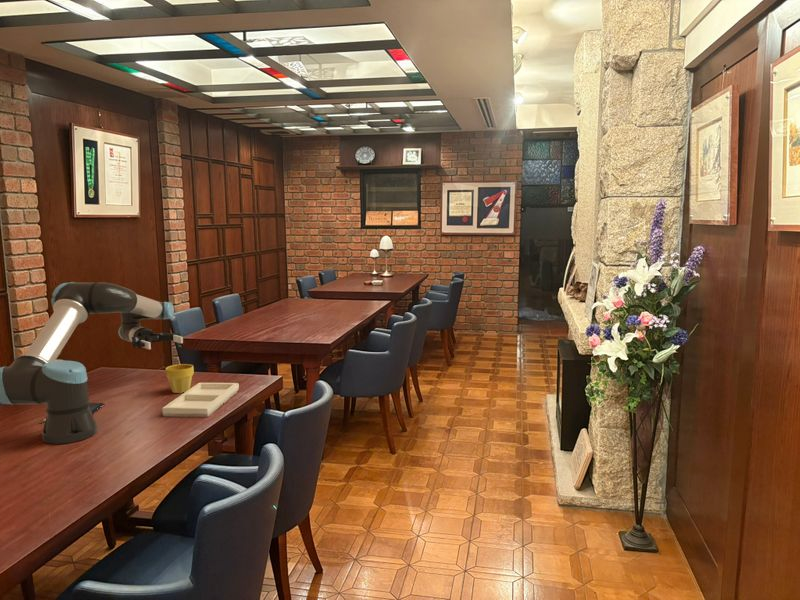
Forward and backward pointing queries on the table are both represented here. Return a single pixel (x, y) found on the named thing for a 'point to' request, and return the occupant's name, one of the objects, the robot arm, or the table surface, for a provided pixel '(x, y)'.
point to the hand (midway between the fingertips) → (166, 343)
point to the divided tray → (201, 400)
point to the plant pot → (180, 377)
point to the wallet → (92, 407)
